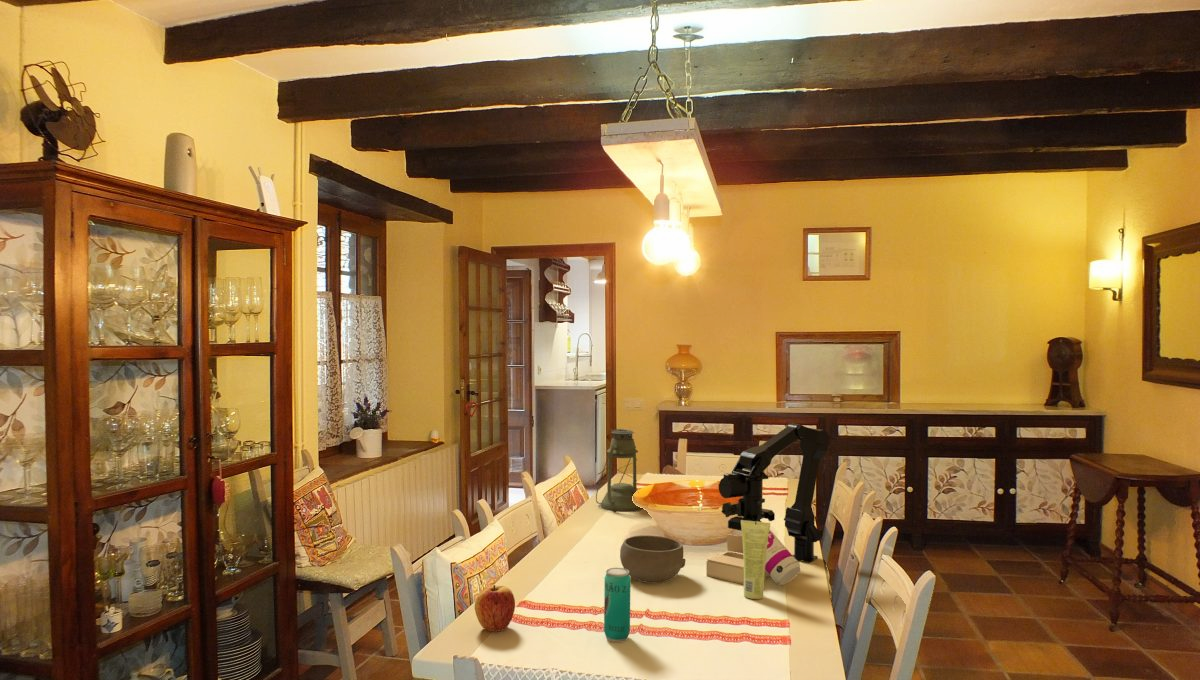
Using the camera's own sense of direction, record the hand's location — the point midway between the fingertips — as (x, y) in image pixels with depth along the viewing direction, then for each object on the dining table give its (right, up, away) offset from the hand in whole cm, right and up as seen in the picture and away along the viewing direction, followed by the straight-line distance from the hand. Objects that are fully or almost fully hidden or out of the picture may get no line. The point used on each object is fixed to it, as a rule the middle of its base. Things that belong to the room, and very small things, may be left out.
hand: (751, 548), depth 220 cm
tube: (-4, -6, -23) cm, 24 cm away
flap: (-1, +1, -2) cm, 2 cm away
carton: (-5, -6, -6) cm, 10 cm away
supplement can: (+7, -3, -17) cm, 19 cm away
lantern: (-35, -5, +77) cm, 85 cm away
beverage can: (-40, -6, -51) cm, 65 cm away
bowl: (-29, -6, -9) cm, 31 cm away
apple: (-68, -6, -46) cm, 82 cm away
